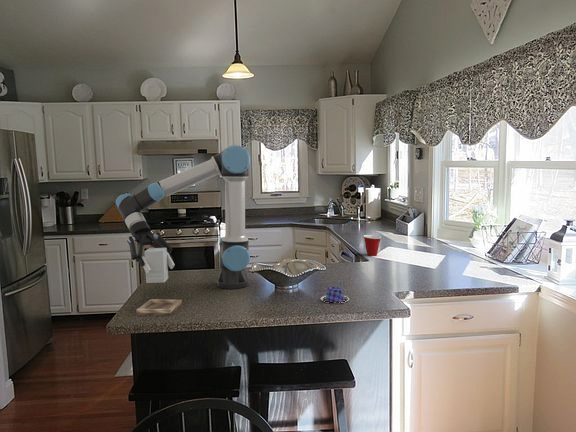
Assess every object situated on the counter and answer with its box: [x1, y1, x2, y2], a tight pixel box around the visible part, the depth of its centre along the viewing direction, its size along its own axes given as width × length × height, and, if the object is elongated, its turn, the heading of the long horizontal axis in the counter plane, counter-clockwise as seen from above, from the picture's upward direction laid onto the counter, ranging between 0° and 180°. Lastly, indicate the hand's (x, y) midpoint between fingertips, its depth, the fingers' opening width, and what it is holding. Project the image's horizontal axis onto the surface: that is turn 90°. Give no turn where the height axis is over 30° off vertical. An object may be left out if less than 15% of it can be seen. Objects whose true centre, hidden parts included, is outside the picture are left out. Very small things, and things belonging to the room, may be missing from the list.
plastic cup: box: [363, 234, 382, 257], centre depth 283 cm, size 11×11×12 cm
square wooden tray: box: [135, 298, 184, 316], centre depth 187 cm, size 14×14×2 cm
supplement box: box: [143, 247, 169, 284], centre depth 185 cm, size 7×7×13 cm
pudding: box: [319, 286, 350, 304], centre depth 195 cm, size 12×12×5 cm
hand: (161, 269), depth 183 cm, fingers closed on supplement box, 10 cm apart
